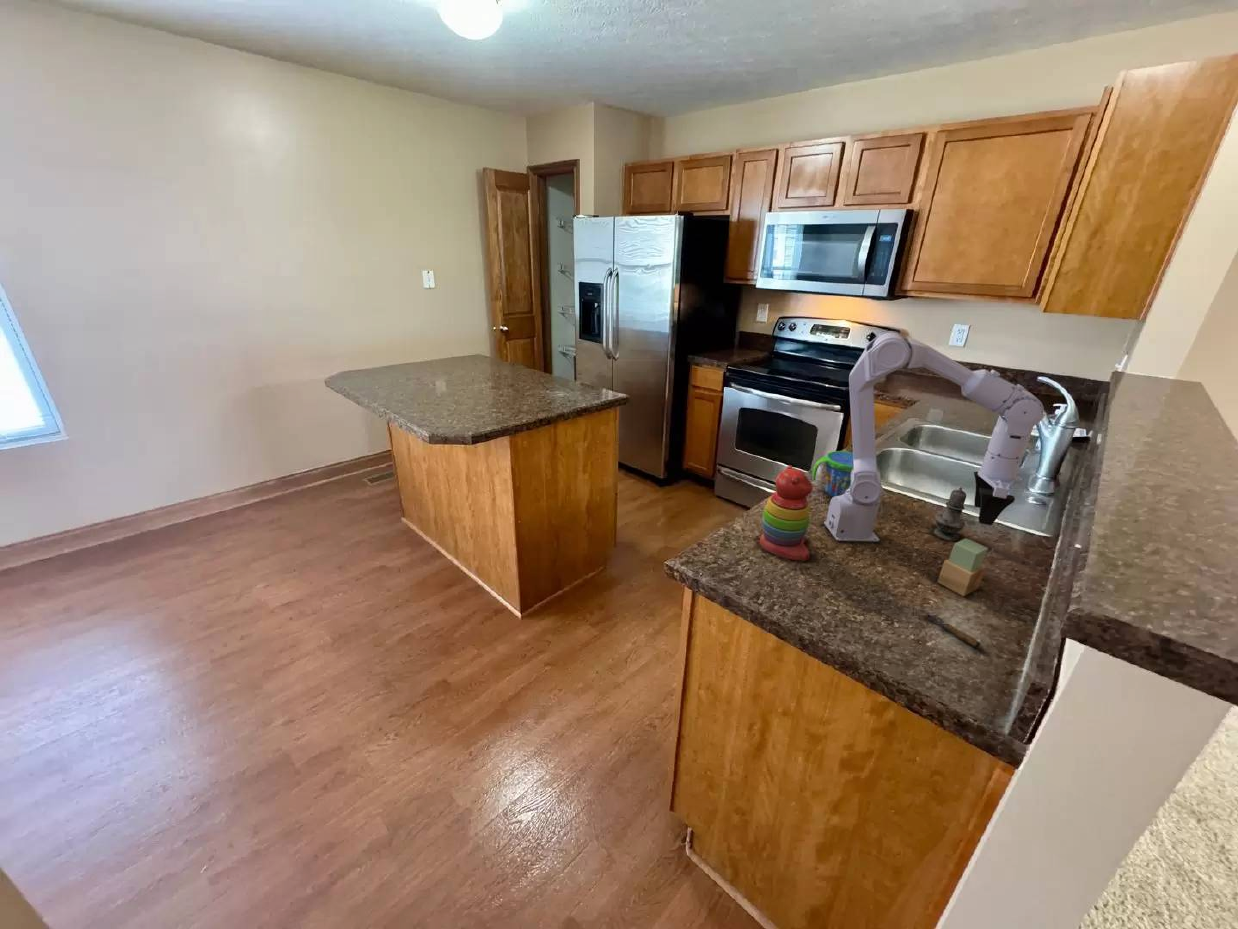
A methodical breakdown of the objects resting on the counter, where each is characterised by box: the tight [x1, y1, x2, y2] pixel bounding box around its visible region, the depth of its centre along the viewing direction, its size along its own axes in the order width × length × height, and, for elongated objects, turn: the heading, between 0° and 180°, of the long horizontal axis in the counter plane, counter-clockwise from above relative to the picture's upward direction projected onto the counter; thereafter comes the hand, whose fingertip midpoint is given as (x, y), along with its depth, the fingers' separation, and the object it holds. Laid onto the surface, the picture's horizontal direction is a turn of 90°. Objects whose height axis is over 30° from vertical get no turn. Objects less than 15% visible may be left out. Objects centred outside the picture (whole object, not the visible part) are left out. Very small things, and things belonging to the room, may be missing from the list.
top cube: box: [948, 538, 989, 572], centre depth 96 cm, size 4×4×4 cm
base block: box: [937, 558, 986, 597], centre depth 98 cm, size 5×5×5 cm
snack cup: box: [811, 450, 854, 498], centre depth 132 cm, size 16×10×10 cm
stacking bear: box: [759, 465, 814, 562], centre depth 107 cm, size 11×10×18 cm
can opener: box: [926, 612, 981, 649], centre depth 86 cm, size 9×2×1 cm, turn 23°
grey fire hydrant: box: [932, 486, 967, 541], centre depth 114 cm, size 6×6×12 cm
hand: (982, 515), depth 104 cm, fingers open, 7 cm apart
